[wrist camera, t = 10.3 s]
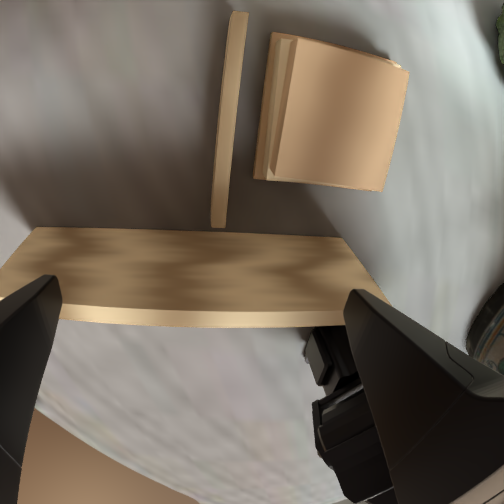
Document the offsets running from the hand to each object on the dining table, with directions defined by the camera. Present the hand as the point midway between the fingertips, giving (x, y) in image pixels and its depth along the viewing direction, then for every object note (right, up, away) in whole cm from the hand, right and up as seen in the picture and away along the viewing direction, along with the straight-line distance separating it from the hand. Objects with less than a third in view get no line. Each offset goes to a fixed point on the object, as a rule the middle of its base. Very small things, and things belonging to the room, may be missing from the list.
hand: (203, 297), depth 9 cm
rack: (-2, +8, +9) cm, 12 cm away
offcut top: (+6, +9, +7) cm, 13 cm away
